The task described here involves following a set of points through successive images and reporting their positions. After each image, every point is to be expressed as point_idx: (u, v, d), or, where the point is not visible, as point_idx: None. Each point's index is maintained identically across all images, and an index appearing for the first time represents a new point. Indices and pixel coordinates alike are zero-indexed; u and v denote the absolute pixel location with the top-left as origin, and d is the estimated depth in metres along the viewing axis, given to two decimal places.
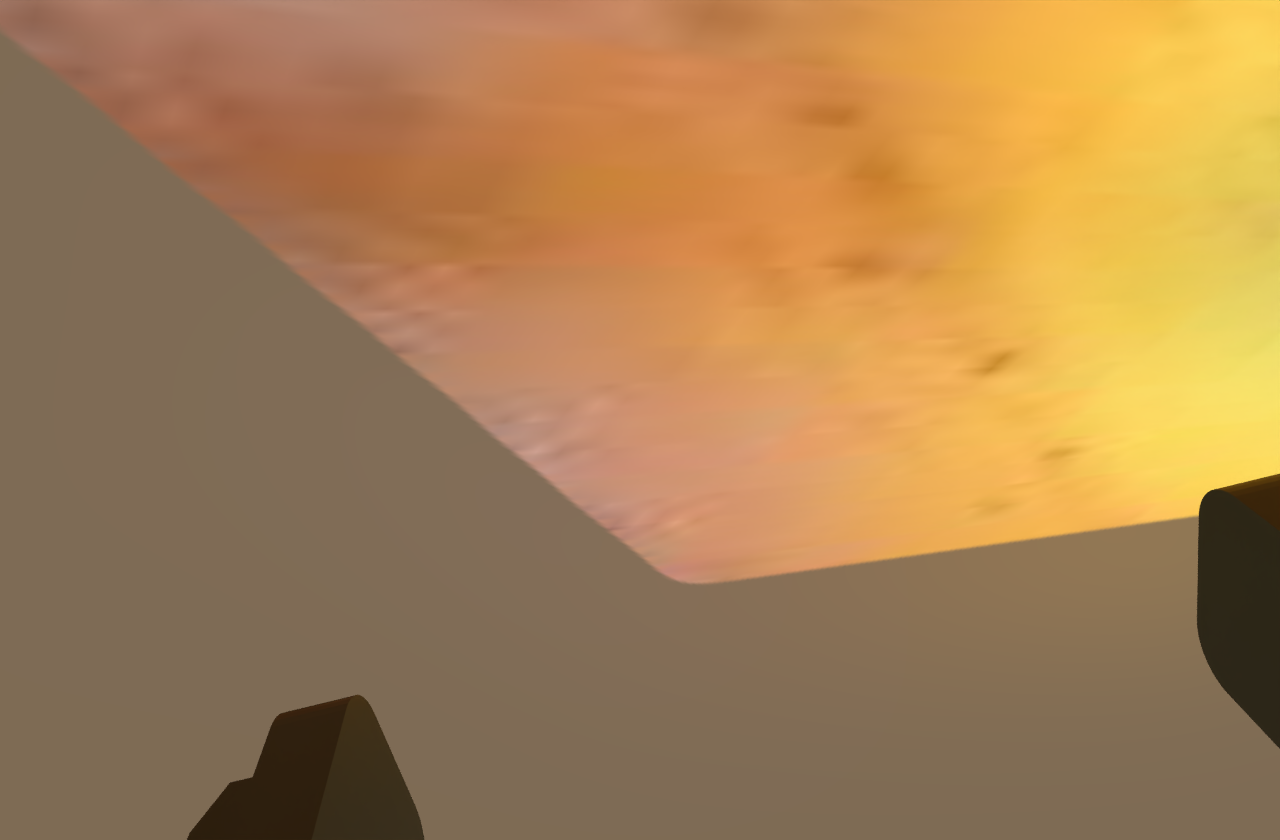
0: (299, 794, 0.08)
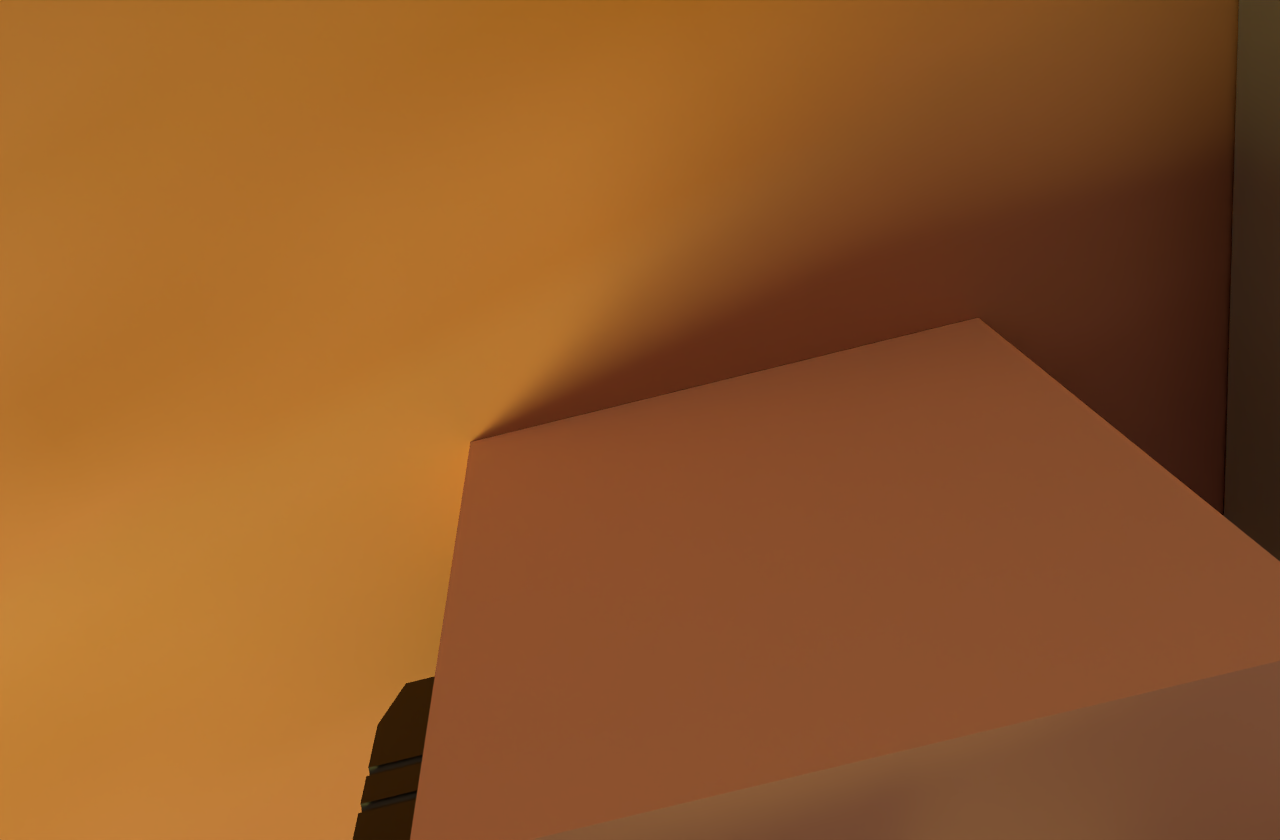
0: None
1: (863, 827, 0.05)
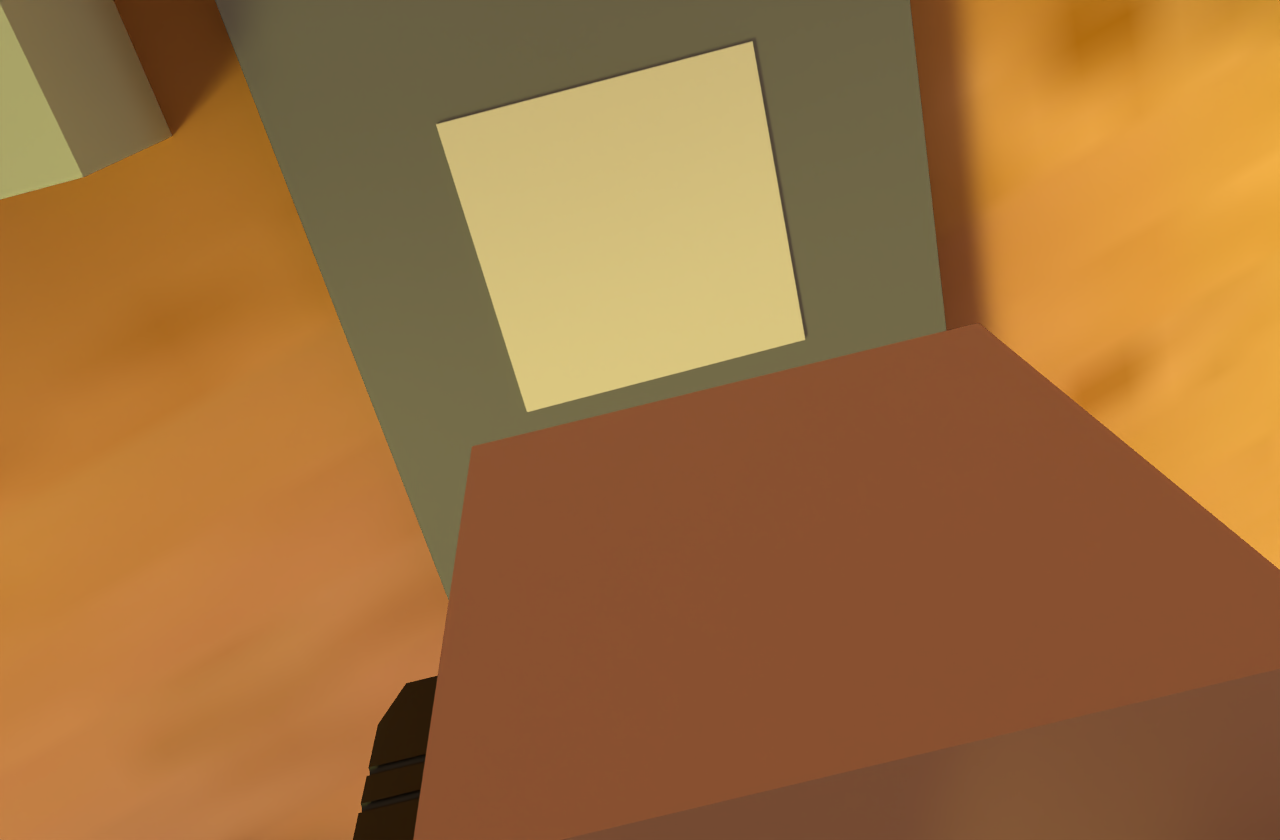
0: None
1: (864, 835, 0.05)
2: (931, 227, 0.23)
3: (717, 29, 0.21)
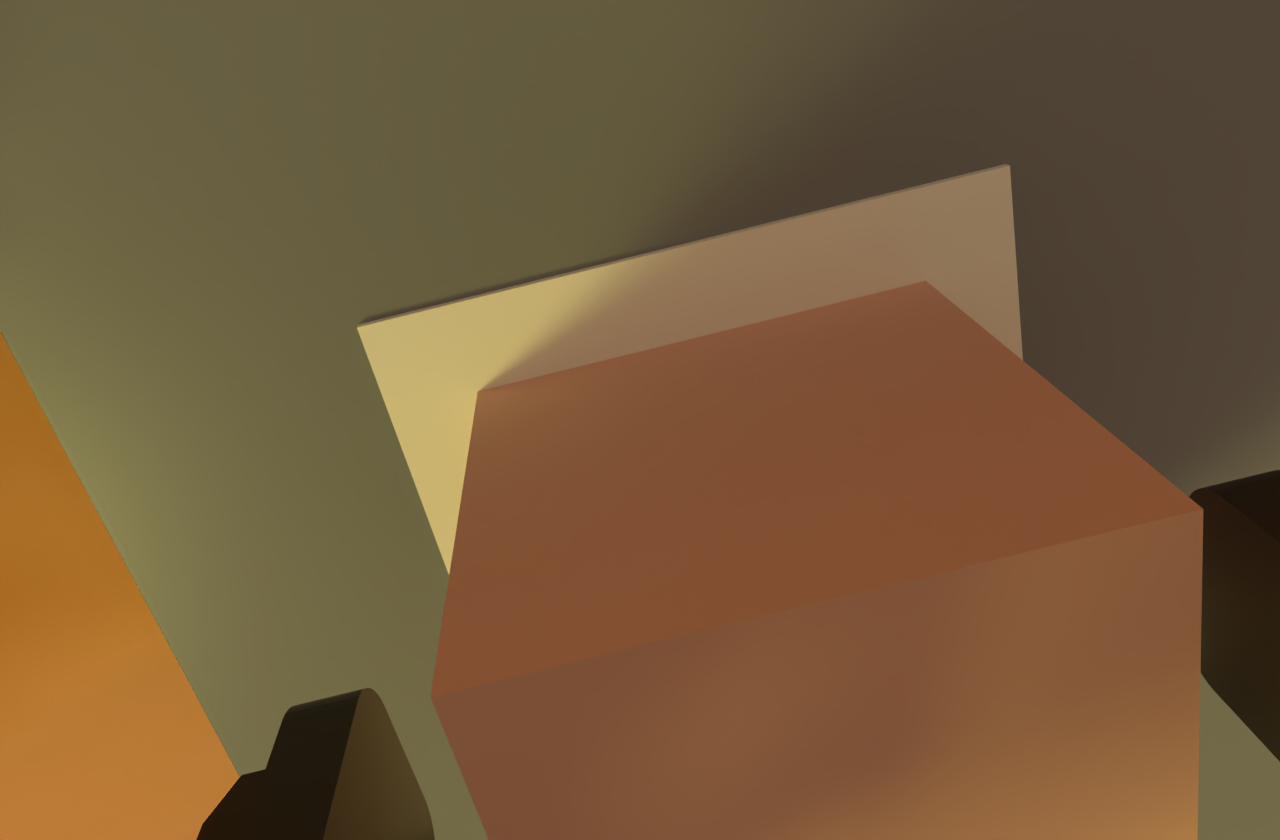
0: (312, 785, 0.08)
1: (798, 666, 0.06)
2: None
3: (939, 141, 0.10)
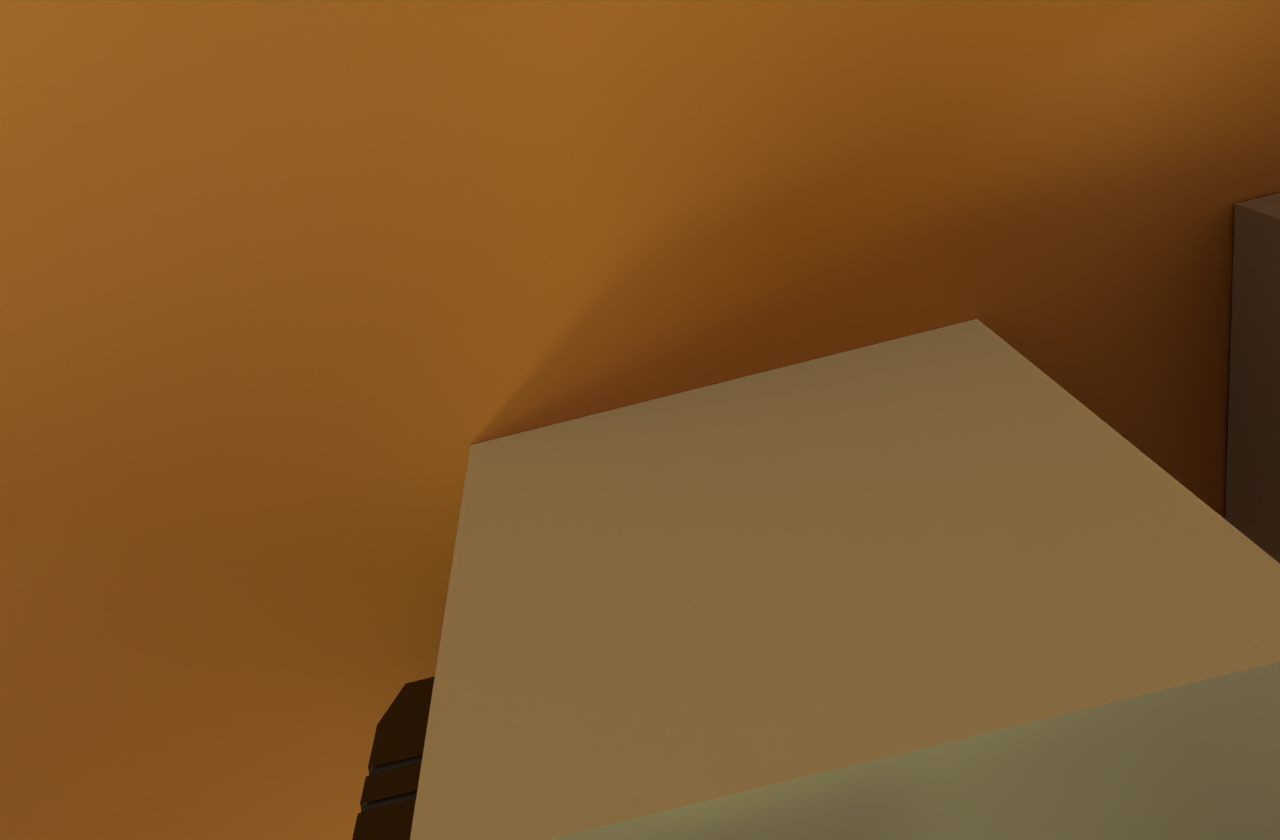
0: None
1: None
2: None
3: None
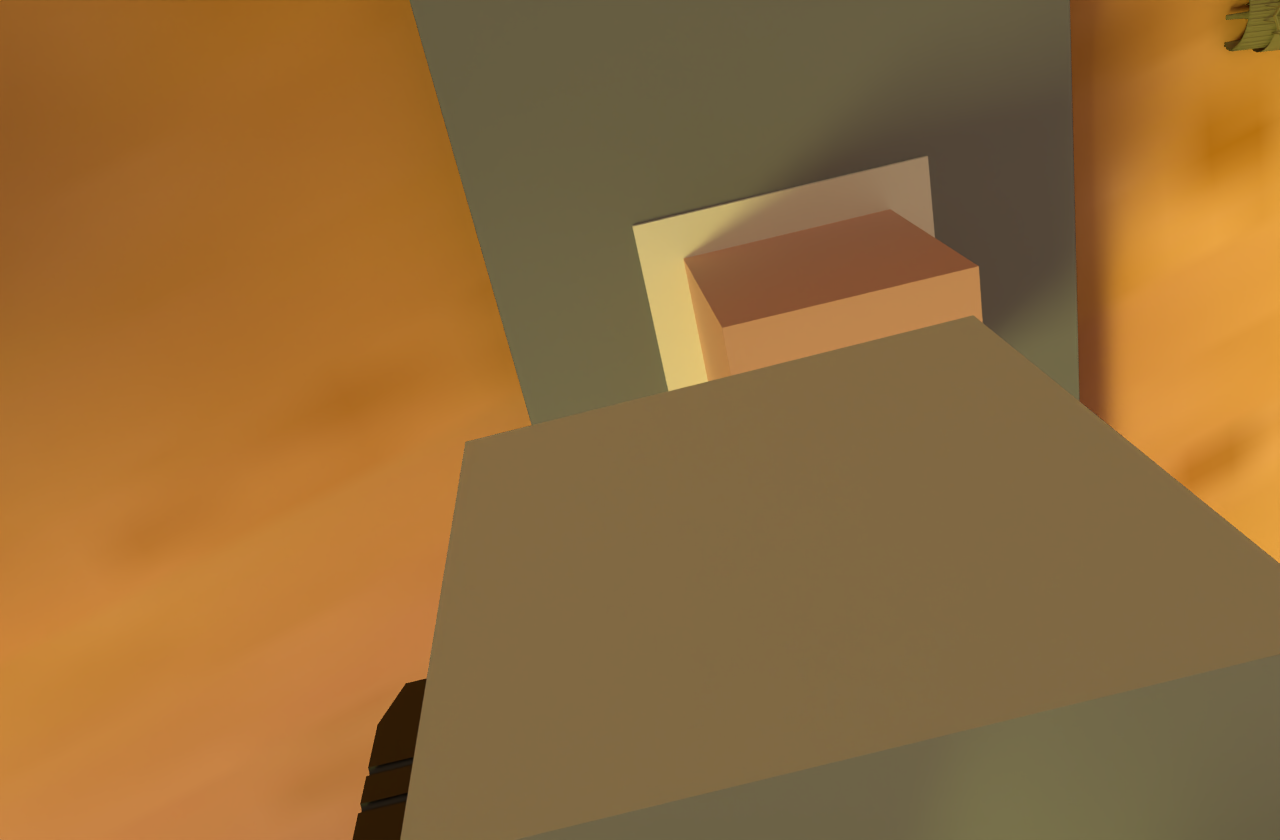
0: None
1: (844, 321, 0.19)
2: (1074, 323, 0.25)
3: (896, 144, 0.23)
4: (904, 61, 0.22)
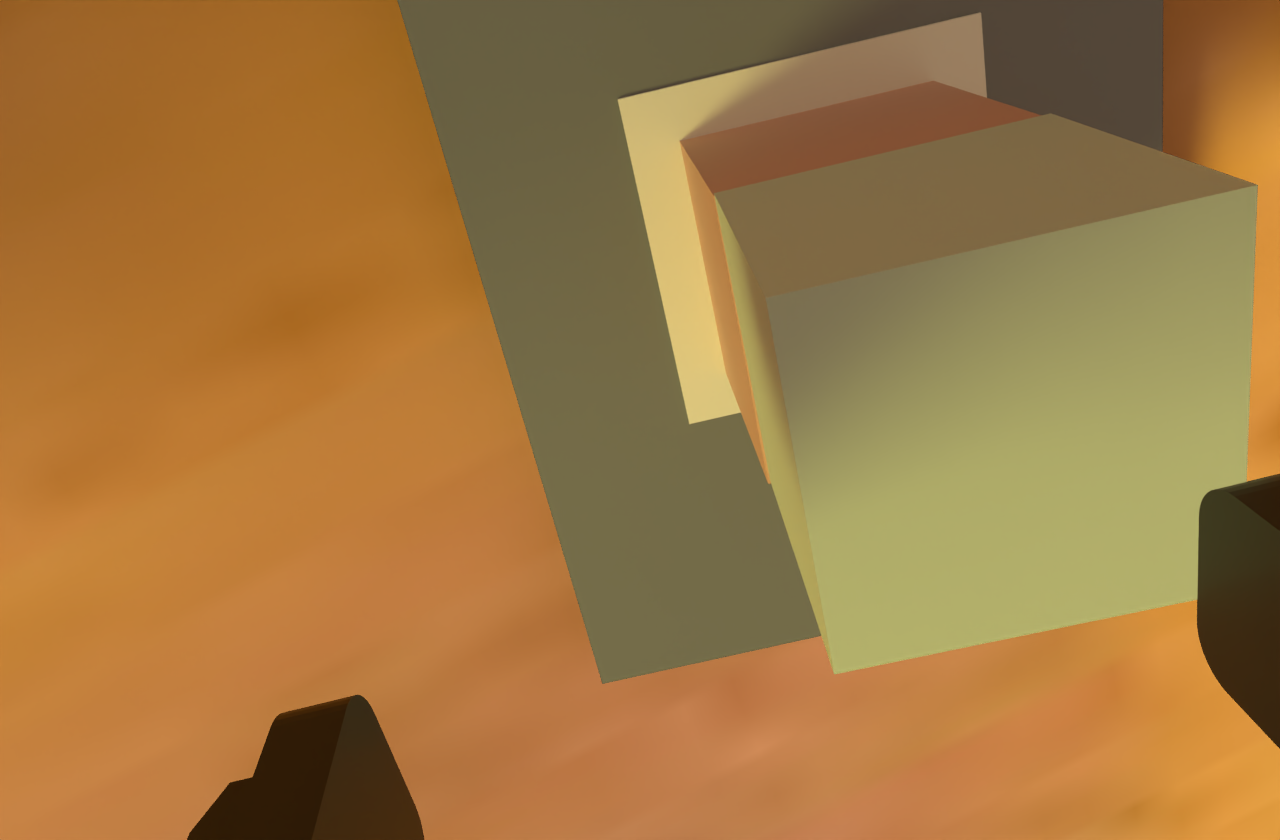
0: (299, 794, 0.08)
1: None
2: None
3: None
4: None
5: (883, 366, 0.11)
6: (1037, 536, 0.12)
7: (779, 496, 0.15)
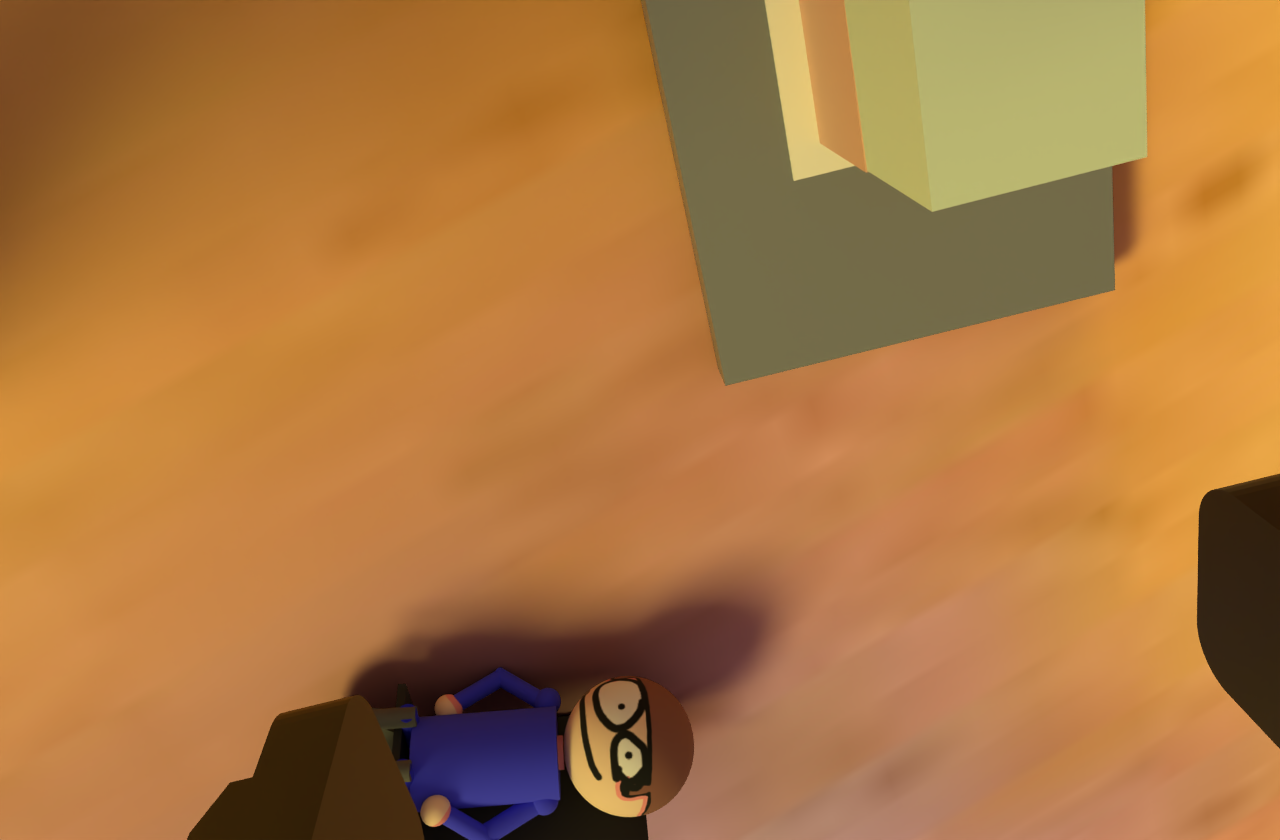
0: (299, 794, 0.08)
1: None
2: None
3: None
4: None
5: (962, 17, 0.21)
6: (1039, 121, 0.22)
7: (881, 160, 0.26)
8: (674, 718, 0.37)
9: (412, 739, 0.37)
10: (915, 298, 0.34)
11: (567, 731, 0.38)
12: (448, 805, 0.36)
